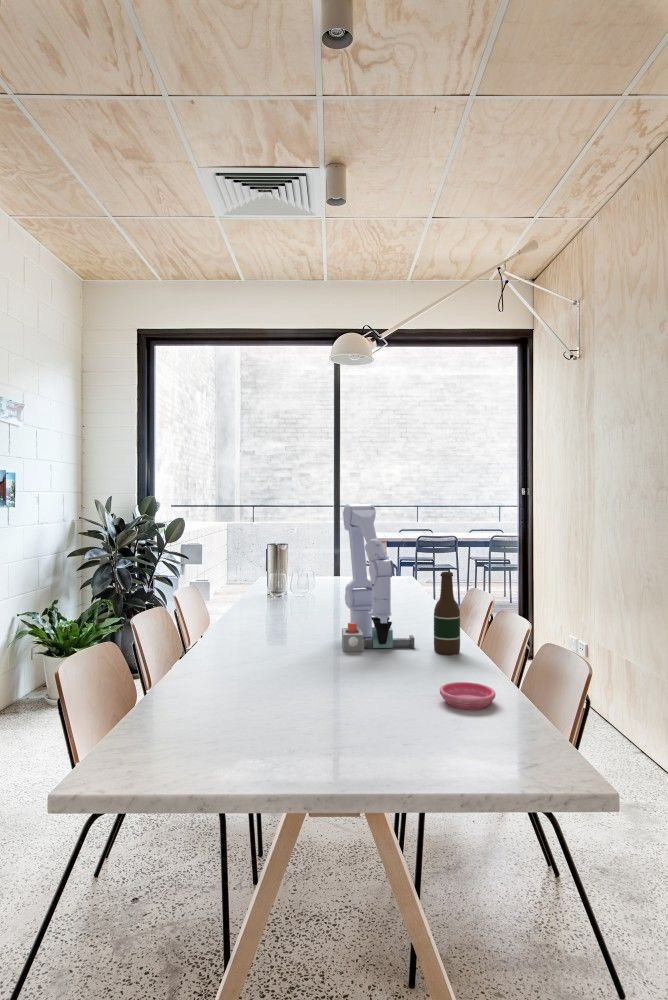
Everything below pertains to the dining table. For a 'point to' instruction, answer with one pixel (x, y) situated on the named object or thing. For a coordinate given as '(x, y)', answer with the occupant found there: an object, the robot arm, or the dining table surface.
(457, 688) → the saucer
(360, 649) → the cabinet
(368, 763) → the dining table surface
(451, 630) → the beer bottle
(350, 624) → the plunger
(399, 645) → the rail
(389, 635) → the block
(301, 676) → the dining table surface
